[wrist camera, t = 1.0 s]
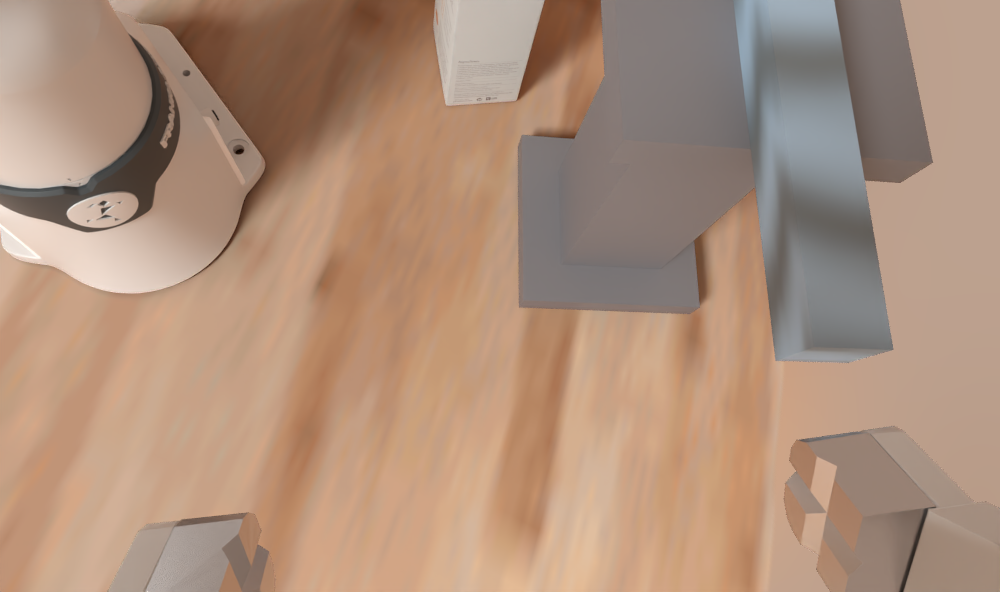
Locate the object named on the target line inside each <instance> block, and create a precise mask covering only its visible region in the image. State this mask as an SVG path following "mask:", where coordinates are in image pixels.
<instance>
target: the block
mask: <svg viewBox="0 0 1000 592" xmlns="http://www.w3.org/2000/svg"><path fill="white" fill-rule="evenodd" d="M733 2H734V11H735V19H736V28H737V36H738V45H739V53H740V62H741V70H742V79H743V87H744V96H745V104H746V113H747V121H748V130H749V138H750V147H751V155H752V164H753V172H754V181H755V189H756V198H757V206H758V215H759V223H760V232H761V240H762V249H763V257H764V266H765V274H766V283H767V291H768V300H769V308H770V317H771V325H772V334H773V342H774V351H775V359H776V361H803V362H837V363H838V362H839V363H849V362H853V361H856V360H860V359H863V358H867V357H870V356H874V355H877V354H880V353H884V352H887V351H891V350H893V344H892V339H891V333H890V327H889V321H888V315H887V309H886V303H885V297H884V291H883V286H882V279H881V274H880V268H879V262H878V256H877V251H876V244H875V238H874V232H873V227H872V220H871V215H870V209H869V203H868V197H867V191H866V185H865V179H864V173H863V167H862V161H861V156H860V150H859V144H858V138H857V132H856V126H855V120H854V114H853V108H852V102H851V96H850V91H849V85H848V79H847V73H846V67H845V61H844V55H843V49H842V43H841V37H840V32H839V26H838V20H837V14H836V8H835V2H834V0H733Z"/></svg>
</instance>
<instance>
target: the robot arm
mask: <svg viewBox="0 0 1000 592" xmlns="http://www.w3.org/2000/svg"><path fill="white" fill-rule="evenodd" d="M239 149H243V150H244V152H243V153H242V154H240V155H237V154H235V152H236V151H237V150H239ZM264 170H265V161H264V158H263V157H262V155H261V154H260V152H259V151H258V150H257V148H256V147H255V145H254V144H253V143H252V141H251V140H250V139H249V137H248V136H247V135H246V133H245V132H244V130H243V129H242V128H241V126H240V125H239V124H238V122H237V121H236V120H235V118H234V117H233V115H232V114H231V113H230V111H229V110H228V109H227V107H226V106H225V105H224V103H223V102H222V100H221V99H220V98H219V96H218V95H217V94H216V92H215V91H214V90H213V88H212V87H211V85H210V84H209V83H208V81H207V80H206V79H205V77H204V76H203V75H202V73H201V72H200V70H199V69H198V68H197V66H196V65H195V64H194V62H193V61H192V60H191V58H190V57H189V55H188V54H187V53H186V51H185V50H184V49H183V47H182V46H181V45H180V43H179V42H178V40H177V39H176V38H175V36H174V35H173V34H172V33H171V32H170V30H168V29H167V28H165V27H163V26H158V25H152V24H143V23H137V22H136V21H135V19H134V18H133V17H132V16H130V15H128V14H125V13H122V12H119V11H114V10H113V8H112V6H111V5H110V3H109V1H108V0H0V231H1V242H2V245H3V248H4V249H5V250H6V251H7V252H8V253H9V254H10V255H11V256H13V257H14V258H16V259H18V260H21V261H25V262H30V263H36V264H42V265H50V266H53V267H55V268H58V269H60V270H62V271H63V272H65V273H66V274H68V275H70V276H71V277H73V278H75V279H76V280H78V281H80V282H82V283H84V284H86V285H89V286H91V287H94V288H97V289H101V290H105V291H110V292H117V293H144V292H151V291H156V290H160V289H164V288H167V287H170V286H173V285H175V284H178V283H180V282H182V281H184V280H186V279H188V278H190V277H192V276H193V275H195V274H197V273H198V272H200V271H201V270H202V269H204V268H205V267H206V266H207V265H209V264H210V263H211V262H212V261H213V260H214V259H215V258H216V257H217V256H218V255H219V254H220V252H221V251H222V250H223V249H224V247H225V246H226V245H227V243H228V242H229V240H230V238H231V236H232V235H233V233H234V230H235V228H236V226H237V223H238V220H239V216H240V212H241V209H242V205H243V202H244V199H245V197H246V195H247V193H248V192H249V191H250V190H251V189H252V187H253V186H254V185H255V184H256V183H257V181H258V180H259V179H260V177H261V176H262V174H263V172H264ZM789 461H790V462H791V463H792V465H793V467H794V468H795V470H796V472H795V473H794V474H793V475H792V476H791V477H790V478H789V479H788V481H787V482H786V483H785V492H784V503H785V509H786V515H787V519H788V521H789V523H790V526H791V528H792V531H793V533H794V534H795V536H796V538H797V539H798V541H799V542H800V544H801V545H802V546H804V547H805V548H807V549H809V550H810V551H812V552H814V553H815V554H817V555H818V556H819V557H818V563H817V568H816V570H817V572H818V573H819V575H820V576H821V578H822V579H823V581H824V583H825V584H826V586H827V587H828V589H829V590H830V592H1000V508H999V507H997V506H995V505H992V504H990V503H988V502H977V503H975V502H974V501H973V500H972V499H971V498H970V497H969V496H968V495H967V494H966V493H965V492H964V491H963V490H962V489H961V488H960V487H959V486H958V485H957V484H956V483H955V482H954V481H953V480H952V479H951V478H950V477H949V476H948V475H947V474H946V473H945V472H944V471H943V470H942V469H941V468H940V467H939V466H938V465H937V464H936V463H935V462H934V461H933V460H932V459H931V458H930V457H929V456H928V454H926V452H924V451H923V449H922V448H920V446H919V445H917V443H916V442H915V441H914V440H913V439H912V438H911V437H909V435H908V434H907V433H906V432H904V431H903V430H902V429H900V428H897V427H895V426H891V427H883V428H877V429H870V430H863V431H860V432H850V433H843V434H836V435H829V436H822V437H816V438H808V439H801V440H796V441H795V443H794V444H793V446H792V447H791V453H790V458H789ZM261 531H262V530H261V528H260V525H259V523H258V521H257V518H256V516H255V514H252V513H239V514H230V515H221V516H211V517H202V518H193V519H183V520H181V521H172V522H162V523H152V524H146V525H145V526H144V527H143V528H142V529H140V530H139V531H138V533H137V534H136V536H135V538H134V540H133V542H132V544H131V546H130V548H129V550H128V552H127V554H126V556H125V558H124V560H123V562H122V564H121V566H120V568H119V570H118V572H117V574H116V575H115V577H114V579H113V581H112V583H111V585H110V587H109V589H108V591H107V592H275V581H276V578H275V572H274V565H273V562H272V559H271V556H270V553H269V551H267V550H266V549H264V548H263V547H261V546H260V545H258V541H259V538H260V534H261Z"/></svg>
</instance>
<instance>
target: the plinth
mask: <svg viewBox="0 0 1000 592" xmlns="http://www.w3.org/2000/svg"><path fill="white" fill-rule="evenodd" d="M834 2H835V8H836V14H837V20H838V26H839V32H840V37H841V43H842V49H843V55H844V61H845V67H846V73H847V79H848V85H849V91H850V96H851V102H852V108H853V114H854V120H855V126H856V132H857V138H858V144H859V150H860V156H861V161H862V167H863V173H864V179H865V180H866V181H881V182H895V183H901V182H902V181H904V180H906V179H907V178H909V177H910V176H912V175H913V174H915V173H917V172H919V171H920V170H922V169H923V168H925V167H927V166H928V165H930V164H931V163H933V161H932V156H931V151H930V147H929V142H928V136H927V132H926V127H925V122H924V117H923V112H922V107H921V102H920V97H919V92H918V87H917V82H916V77H915V73H914V68H913V63H912V58H911V53H910V48H909V43H908V38H907V33H906V28H905V23H904V18H903V13H902V8H901V3H900V0H834ZM601 13H602V33H603V54H604V74H605V76H604V78H603V80H602V82H601V84H600V87H599V89H598V91H597V93H596V95H595V97H594V99H593V101H592V103H591V105H590V107H589V109H588V111H587V114H586V116H585V118H584V120H583V122H582V124H581V126H580V128H579V130H578V132H577V134H576V136H575V138H574V139H569V138H555V137H542V136H528V135H522V137H521V140H520V143H519V146H518V226H519V307H525V308H551V309H577V310H602V311H628V312H654V313H680V314H690V313H692V312H693V311H695V310H696V309H698V308H700V303H699V292H698V280H697V268H696V257H695V245H694V240H695V239H696V238H697V237H698V236H700V235H701V234H702V233H703V232H704V231H705V230H706V229H708V228H709V227H710V226H711V225H712V224H713V223H715V222H716V221H717V220H718V219H719V218H720V217H721V216H723V215H724V214H725V213H726V212H727V211H728V210H730V209H731V208H732V207H733V206H734V205H735V204H736V203H738V202H739V201H740V200H741V199H742V198H743V197H745V196H746V195H747V194H748V193H749V192H750V191H751V190H753V189H754V188H755V181H754V172H753V164H752V155H751V147H750V138H749V130H748V121H747V113H746V104H745V96H744V87H743V79H742V70H741V62H740V53H739V45H738V36H737V28H736V19H735V11H734V2H733V0H601Z"/></svg>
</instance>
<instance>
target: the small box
mask: <svg viewBox="0 0 1000 592" xmlns="http://www.w3.org/2000/svg"><path fill="white" fill-rule="evenodd" d="M544 3H545V0H435V13H434V25H433V29H434V36H435V43H436V49H437V56H438V62H439V68H440V74H441V80H442V86H443V92H444V98H445V103H446V105H447V106H451V105H468V104H481V103H496V102H509V101H517V98H518V95H519V92H520V88H521V84H522V81H523V77H524V73H525V70H526V66H527V63H528V59H529V56H530V52H531V49H532V45H533V41H534V38H535V34H536V31H537V27H538V24H539V20H540V16H541V13H542V9H543V6H544Z"/></svg>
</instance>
